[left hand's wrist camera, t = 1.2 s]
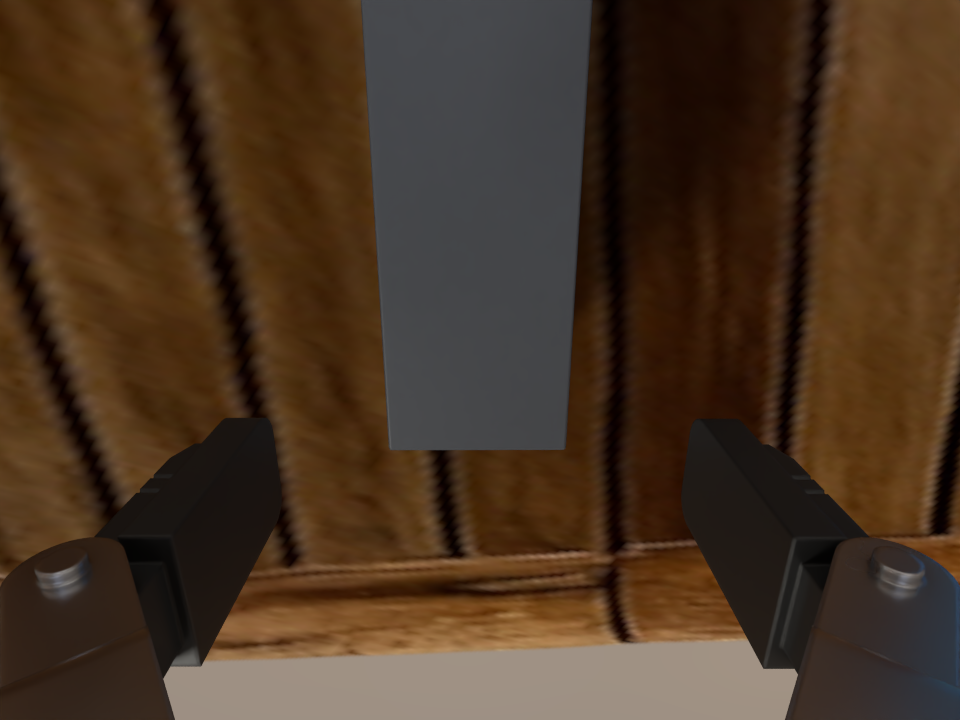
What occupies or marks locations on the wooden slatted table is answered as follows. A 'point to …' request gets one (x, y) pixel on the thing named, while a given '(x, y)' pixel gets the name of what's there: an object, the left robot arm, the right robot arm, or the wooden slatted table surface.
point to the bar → (477, 214)
